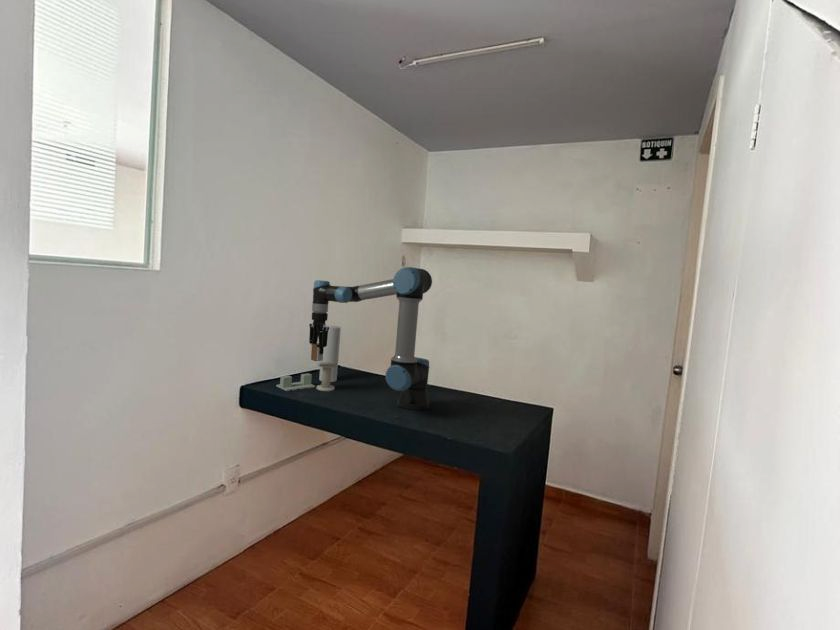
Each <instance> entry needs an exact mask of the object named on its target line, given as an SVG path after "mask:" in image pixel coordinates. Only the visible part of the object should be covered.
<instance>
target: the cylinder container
mask: <svg viewBox="0 0 840 630" xmlns="http://www.w3.org/2000/svg"><path fill="white" fill-rule="evenodd" d="M326 326H327V327H329V330H328V338H327V346H326V347H324V350H323V361H320V362H332V363H336V367H333V368H331V382H330V383H334V382H336V381H337V380H338V379H337V378H338V368H339V367H338V366H339V354H340V339H341V331H342V330H341V328H342V327H340V326H338V325H337V326H336V325H326ZM322 370H323V367H320V366H319V381H320V382H322Z"/></svg>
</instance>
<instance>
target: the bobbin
mask: <svg viewBox="0 0 840 630" xmlns="http://www.w3.org/2000/svg"><path fill="white" fill-rule="evenodd" d="M317 366H318V367H319V368H320V367H323V370H322V381H321V384H320V385H319V384H318V385H317V386H316V390H318V391H320V392H333V391H335V388H336V387H335V386H334V385H331V383H332V382H331V368H333V367H336V363H332V362H321V361H319V362H318V365H317Z"/></svg>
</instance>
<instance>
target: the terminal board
mask: <svg viewBox="0 0 840 630" xmlns="http://www.w3.org/2000/svg"><path fill="white" fill-rule="evenodd" d="M312 378H313V374H311V373H308V372H307V373H302V374H300V381H296V382H292V381H293V377H292V376H291V375H282V376H281V375H280V382H279V384H276V387H277V388H279V389H281V390H284V391H286V392H290V390H292V391H298V390H297V389H299V390H305V388H306V389H312V388H315V387H316V385H314V384H312Z"/></svg>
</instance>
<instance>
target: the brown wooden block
mask: <svg viewBox="0 0 840 630" xmlns="http://www.w3.org/2000/svg"><path fill="white" fill-rule="evenodd" d="M318 346H319V342H317V343H314V344H312V345H311V351H310V352H311V353H310V354H311V355H310V360H311V361H314V362H318V361H317V351H318ZM321 361H323V360H321ZM321 361H320V362H321Z"/></svg>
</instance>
